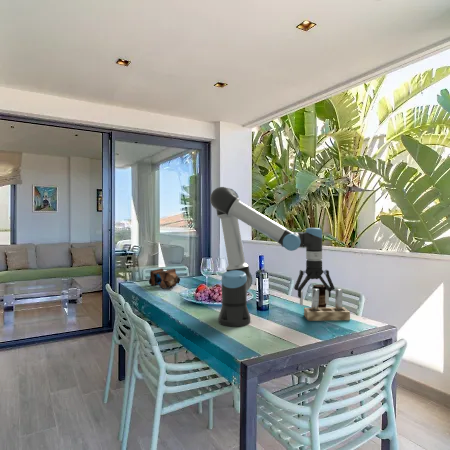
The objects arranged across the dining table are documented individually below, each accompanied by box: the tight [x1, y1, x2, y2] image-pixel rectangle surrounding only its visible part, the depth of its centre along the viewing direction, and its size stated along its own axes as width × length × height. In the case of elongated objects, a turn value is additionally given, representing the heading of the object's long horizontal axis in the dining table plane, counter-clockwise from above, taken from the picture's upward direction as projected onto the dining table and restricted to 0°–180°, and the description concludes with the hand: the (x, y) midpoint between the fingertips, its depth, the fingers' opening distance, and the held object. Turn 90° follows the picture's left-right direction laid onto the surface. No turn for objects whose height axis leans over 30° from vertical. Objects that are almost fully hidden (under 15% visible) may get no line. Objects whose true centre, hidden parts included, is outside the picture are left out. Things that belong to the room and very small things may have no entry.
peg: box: [310, 288, 319, 311], centre depth 168 cm, size 3×3×14 cm
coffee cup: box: [311, 283, 327, 308], centre depth 182 cm, size 9×8×13 cm
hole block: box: [303, 306, 351, 322], centre depth 168 cm, size 20×8×4 cm, turn 91°
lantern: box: [148, 268, 181, 289], centre depth 244 cm, size 16×16×25 cm
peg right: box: [334, 288, 343, 311], centre depth 168 cm, size 3×3×14 cm
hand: (314, 304), depth 168 cm, fingers open, 12 cm apart
